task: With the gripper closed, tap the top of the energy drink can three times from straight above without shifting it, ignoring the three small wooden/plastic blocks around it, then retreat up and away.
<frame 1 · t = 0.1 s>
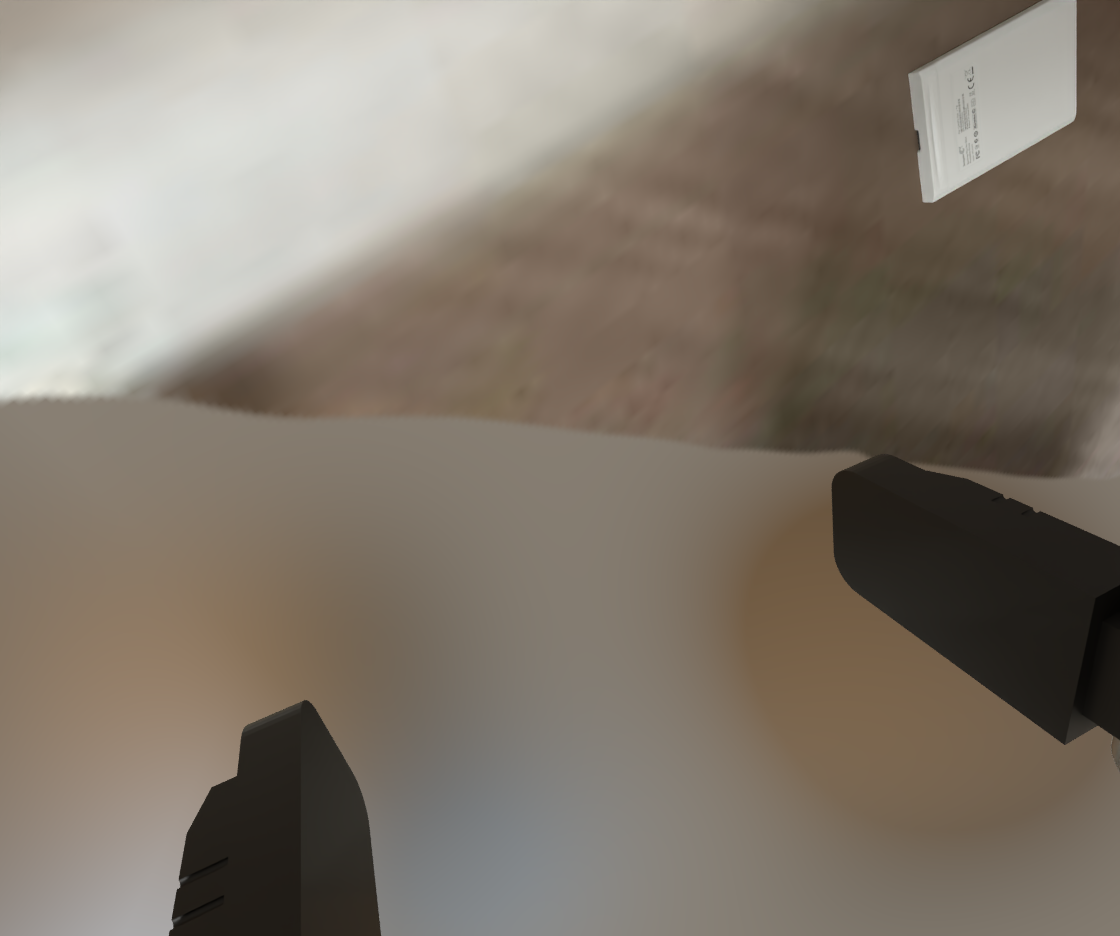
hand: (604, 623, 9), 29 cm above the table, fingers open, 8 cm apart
external hard drive: (979, 100, 43), on the table
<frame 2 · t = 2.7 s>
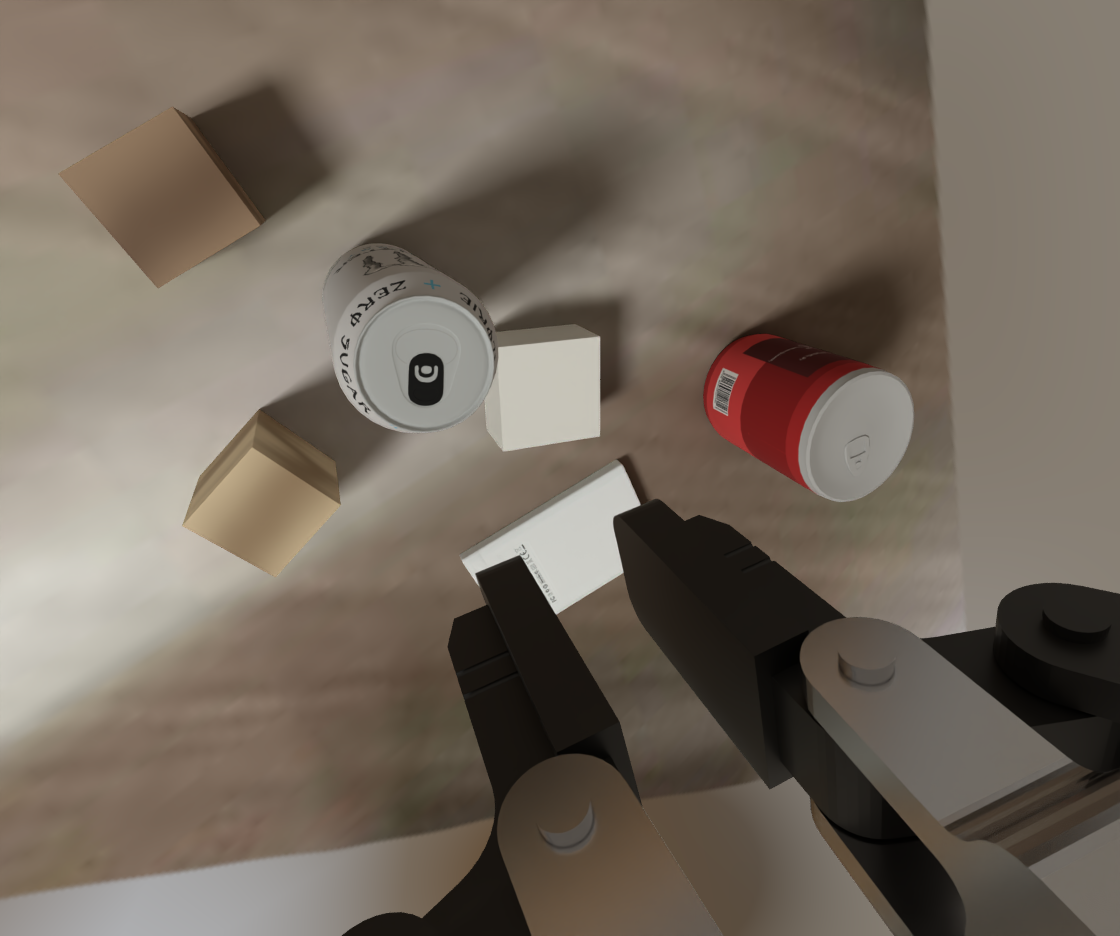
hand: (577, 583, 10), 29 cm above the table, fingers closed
walnut block: (183, 199, 31), on the table
external hard drive: (559, 543, 46), on the table
pale grey block: (529, 376, 40), on the table
energy drink can: (380, 299, 35), on the table
canned food: (744, 386, 46), on the table
oak block: (269, 468, 37), on the table
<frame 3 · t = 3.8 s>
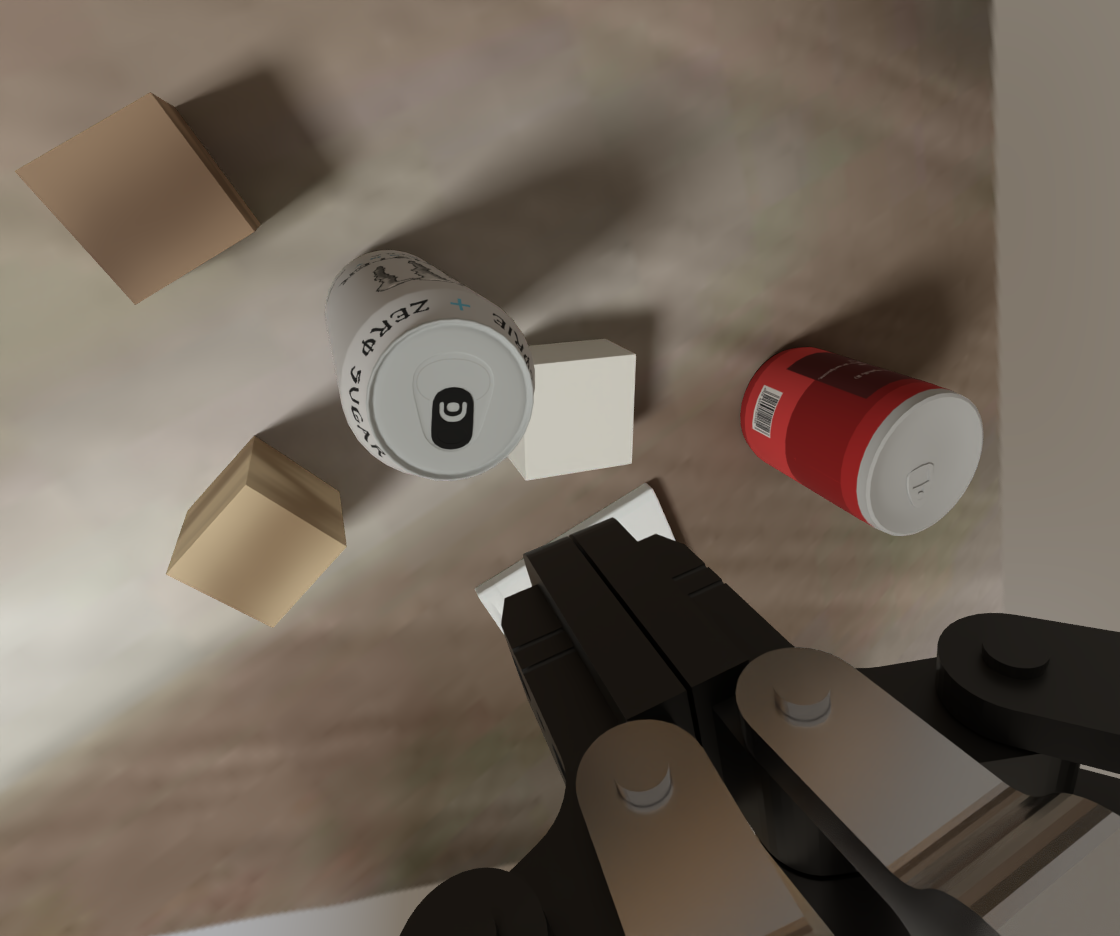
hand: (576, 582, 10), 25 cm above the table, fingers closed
walnut block: (167, 200, 27), on the table
external hard drive: (582, 573, 43), on the table
pale grey block: (553, 395, 36), on the table
energy drink can: (389, 312, 32), on the table
canned food: (784, 403, 42), on the table
oak block: (266, 500, 33), on the table
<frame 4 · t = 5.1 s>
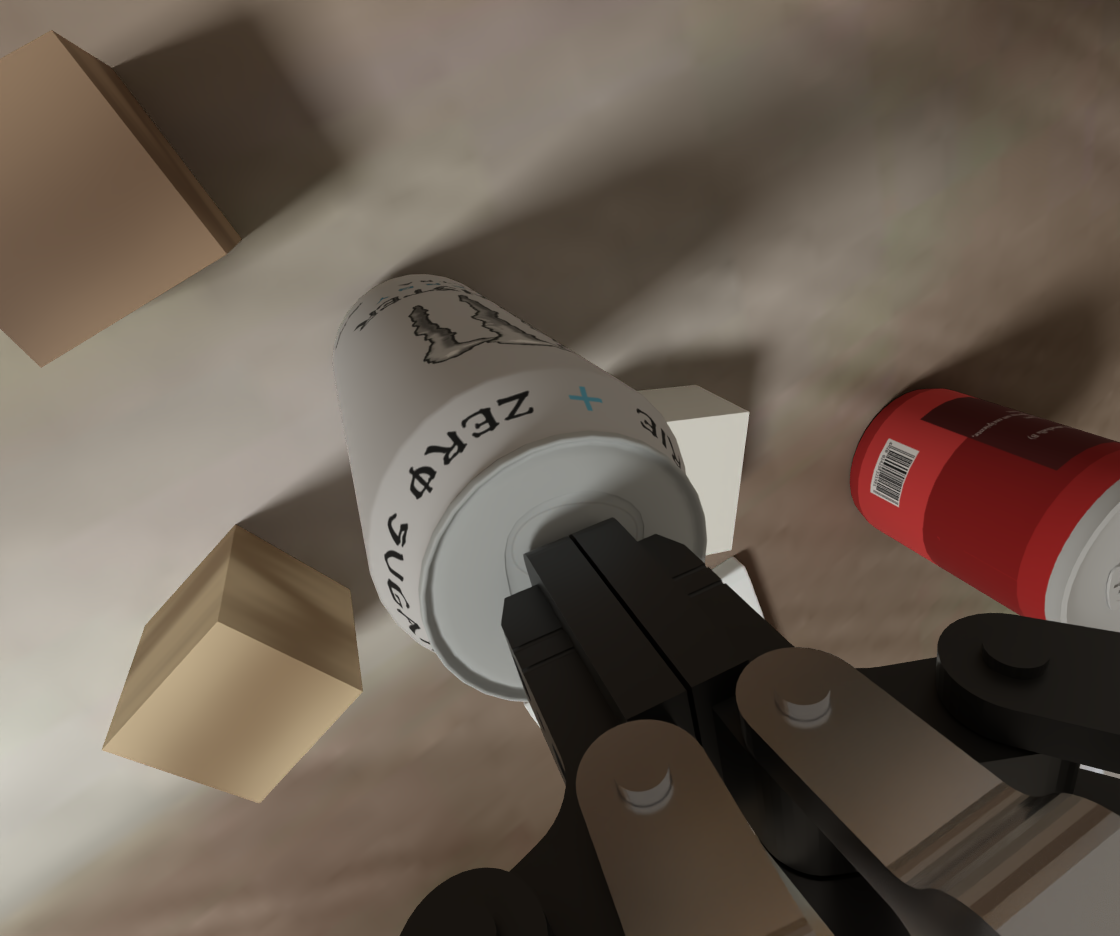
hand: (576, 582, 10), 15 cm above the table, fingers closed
walnut block: (104, 205, 18), on the table
external hard drive: (649, 665, 34), on the table
pale grey block: (627, 456, 28), on the table
energy drink can: (419, 356, 23), on the table, touching gripper
canned food: (900, 455, 34), on the table
oak block: (252, 606, 24), on the table
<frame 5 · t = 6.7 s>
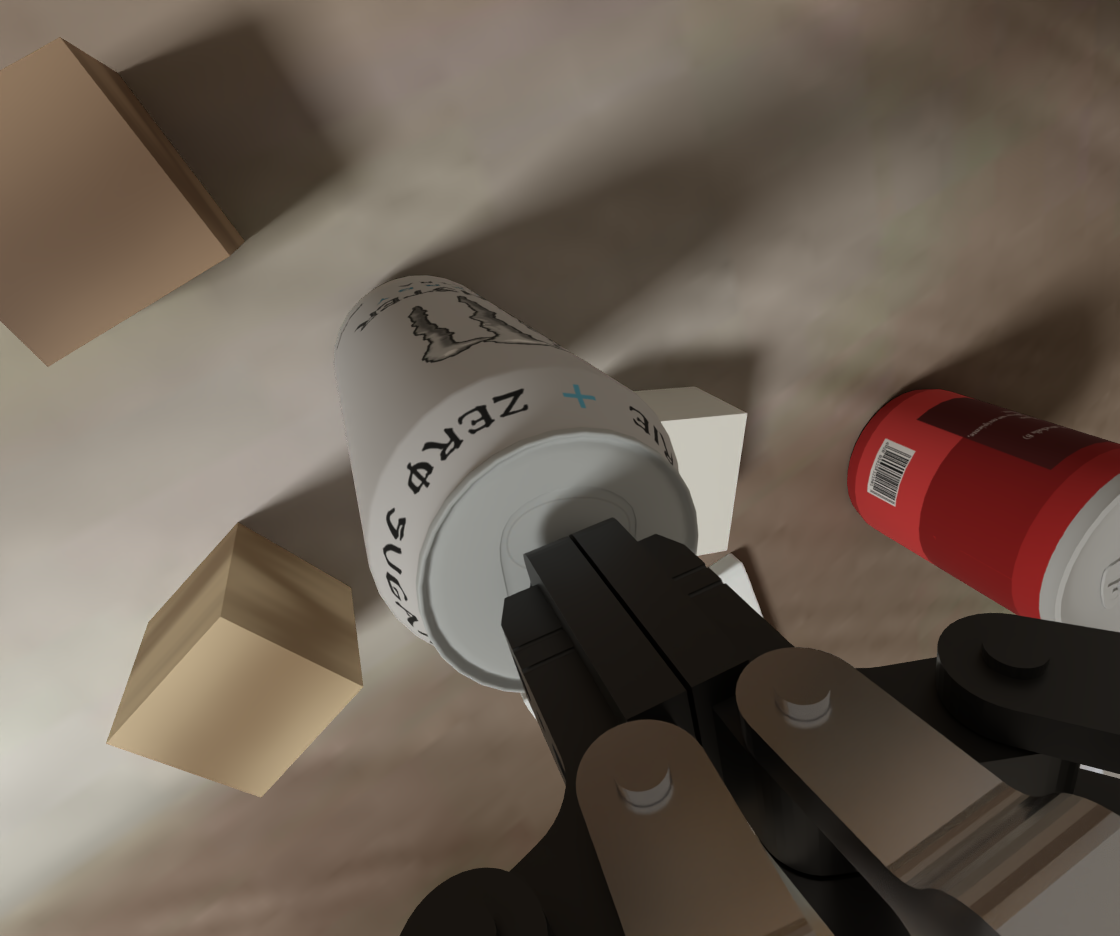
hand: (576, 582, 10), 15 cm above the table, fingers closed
walnut block: (110, 207, 19), on the table
external hard drive: (648, 661, 34), on the table
pale grey block: (625, 456, 28), on the table
energy drink can: (419, 357, 24), on the table
canned food: (898, 455, 34), on the table
oak block: (254, 603, 25), on the table
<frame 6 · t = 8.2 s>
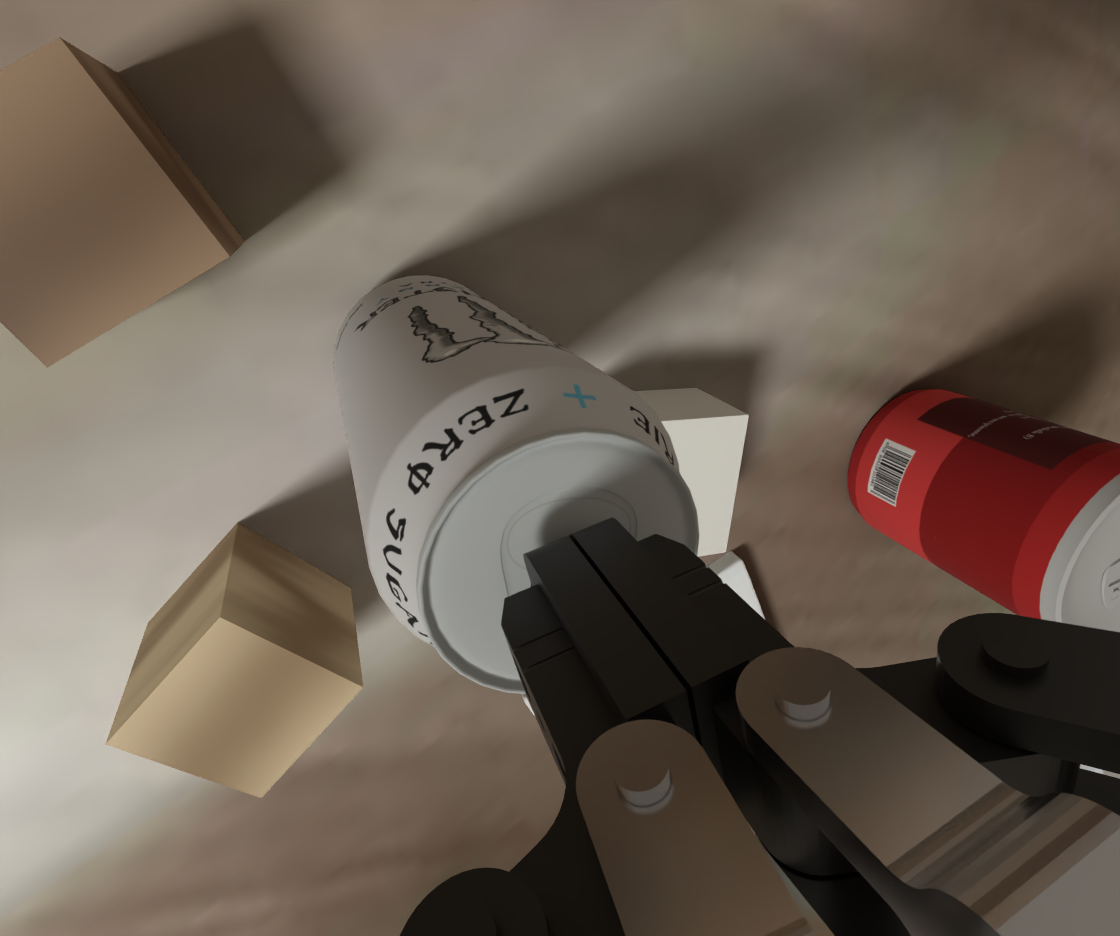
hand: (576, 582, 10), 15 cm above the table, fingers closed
walnut block: (109, 207, 19), on the table
external hard drive: (648, 660, 34), on the table
pale grey block: (625, 456, 28), on the table
energy drink can: (419, 357, 23), on the table
canned food: (898, 456, 34), on the table
oak block: (254, 603, 25), on the table
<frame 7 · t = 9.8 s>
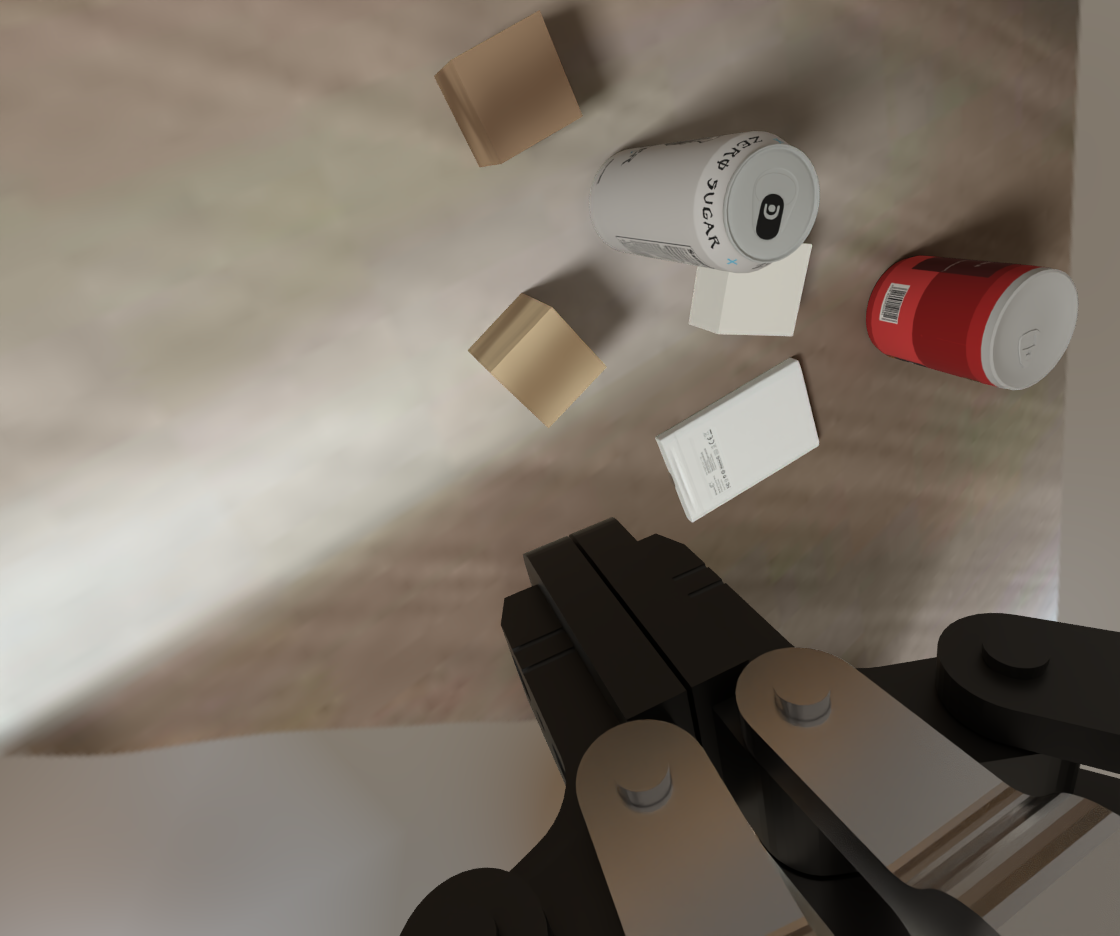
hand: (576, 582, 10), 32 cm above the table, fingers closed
walnut block: (495, 101, 37), on the table
external hard drive: (732, 436, 52), on the table
pale grey block: (730, 282, 46), on the table
energy drink can: (626, 202, 41), on the table
canned food: (899, 306, 52), on the table
oak block: (520, 348, 42), on the table
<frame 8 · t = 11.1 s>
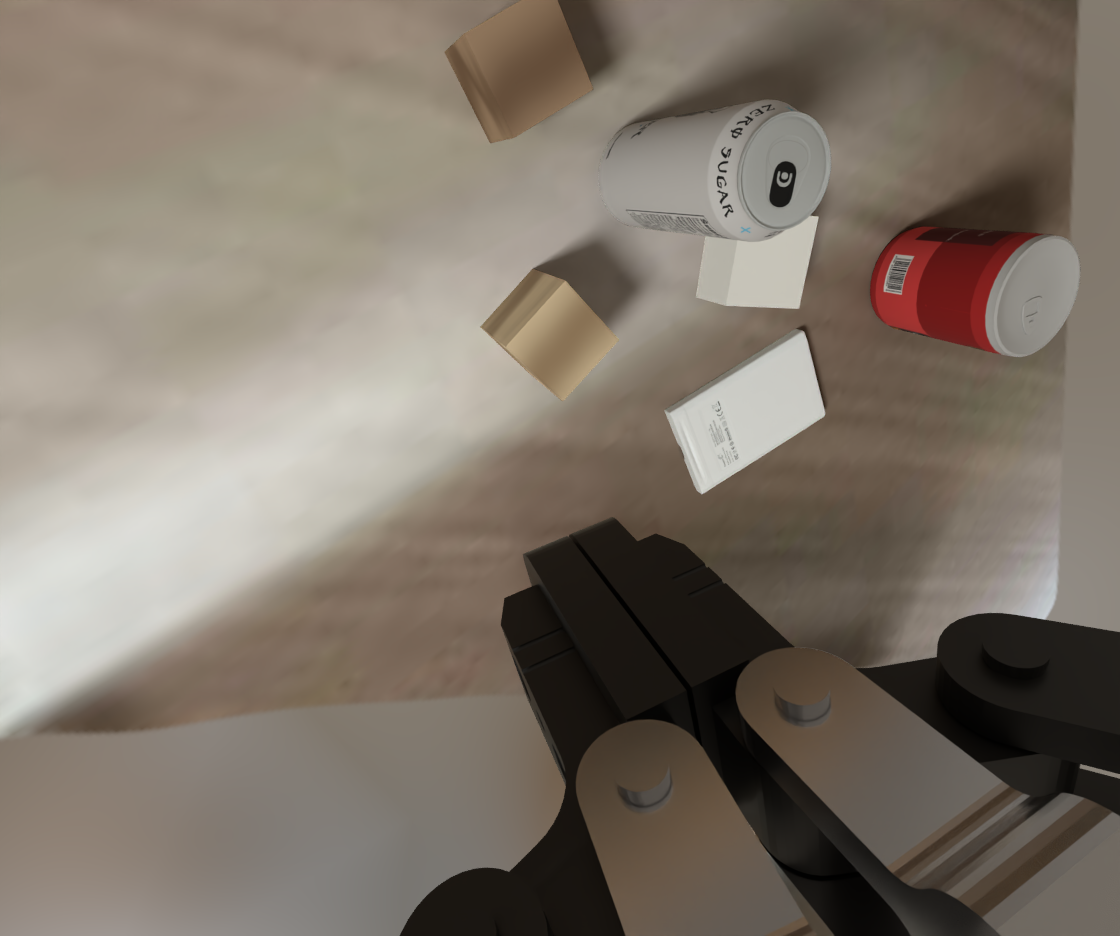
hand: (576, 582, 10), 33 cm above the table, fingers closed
walnut block: (504, 77, 37), on the table
external hard drive: (739, 408, 52), on the table
pale grey block: (737, 255, 46), on the table
energy drink can: (634, 176, 42), on the table
canned food: (902, 277, 52), on the table
oak block: (532, 324, 43), on the table
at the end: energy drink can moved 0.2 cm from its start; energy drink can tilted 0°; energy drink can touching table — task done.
